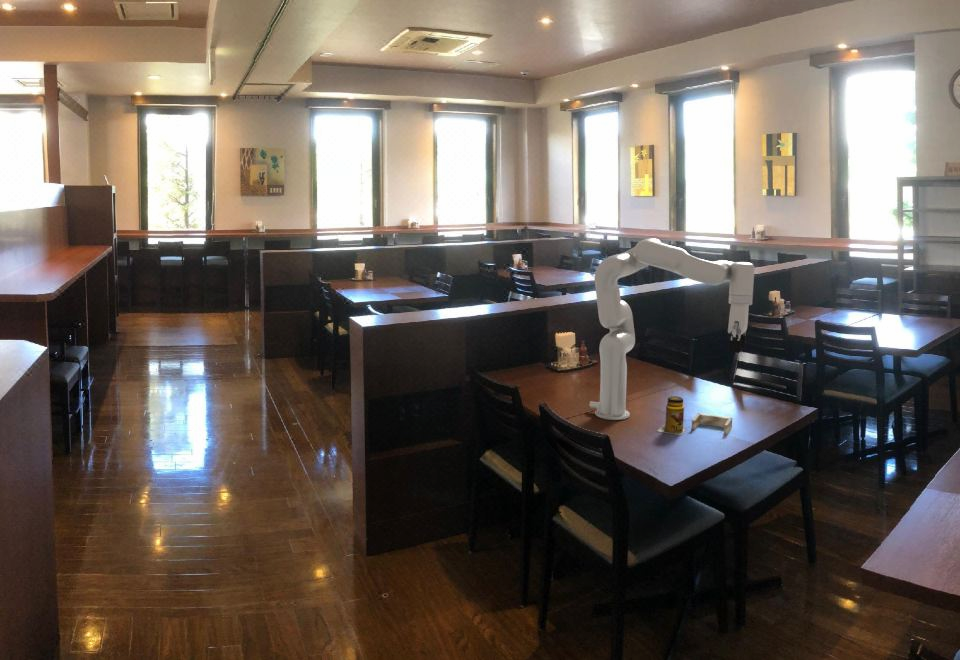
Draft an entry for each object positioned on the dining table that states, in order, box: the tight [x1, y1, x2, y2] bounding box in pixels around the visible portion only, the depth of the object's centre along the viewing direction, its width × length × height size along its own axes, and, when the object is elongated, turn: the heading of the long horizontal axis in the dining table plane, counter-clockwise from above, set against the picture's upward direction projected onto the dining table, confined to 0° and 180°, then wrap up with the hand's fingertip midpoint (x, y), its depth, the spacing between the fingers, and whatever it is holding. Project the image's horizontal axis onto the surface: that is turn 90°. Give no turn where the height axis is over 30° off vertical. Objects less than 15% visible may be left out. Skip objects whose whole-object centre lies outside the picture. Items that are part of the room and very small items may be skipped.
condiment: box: [656, 396, 687, 436], centre depth 265 cm, size 7×8×12 cm
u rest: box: [691, 412, 733, 436], centre depth 268 cm, size 12×9×4 cm
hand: (737, 349), depth 257 cm, fingers open, 9 cm apart
